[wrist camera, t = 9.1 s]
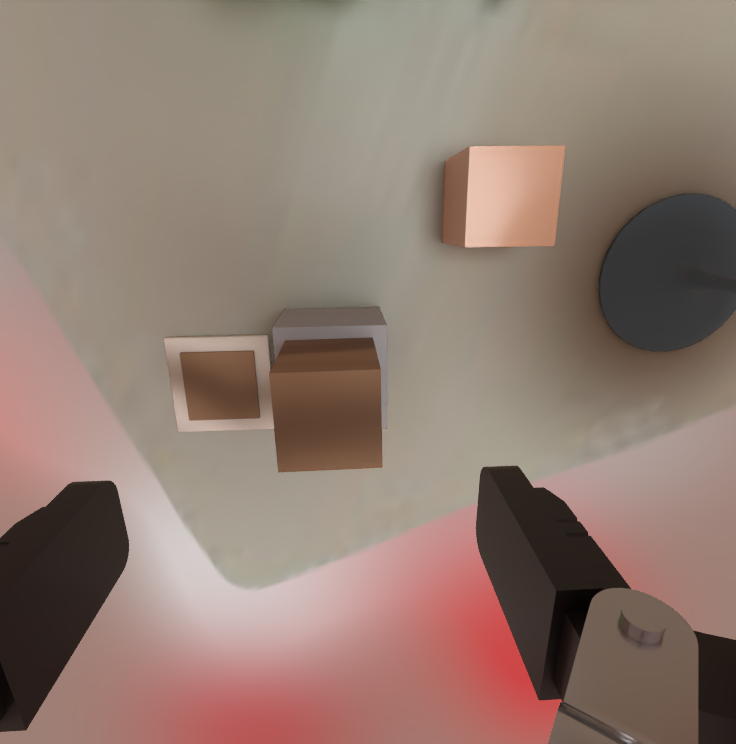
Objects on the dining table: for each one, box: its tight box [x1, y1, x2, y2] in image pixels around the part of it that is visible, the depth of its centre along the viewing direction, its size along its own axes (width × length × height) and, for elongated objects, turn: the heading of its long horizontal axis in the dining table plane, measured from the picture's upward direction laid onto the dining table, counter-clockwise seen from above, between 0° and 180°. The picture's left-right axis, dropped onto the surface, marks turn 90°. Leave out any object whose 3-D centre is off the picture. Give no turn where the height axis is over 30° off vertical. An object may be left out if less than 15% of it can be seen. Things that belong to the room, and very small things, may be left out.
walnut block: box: [269, 337, 382, 472], centre depth 24 cm, size 5×5×6 cm
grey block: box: [272, 307, 387, 429], centre depth 30 cm, size 6×6×6 cm
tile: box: [164, 335, 274, 432], centre depth 33 cm, size 7×7×1 cm
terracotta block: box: [442, 146, 565, 247], centre depth 27 cm, size 5×5×6 cm
